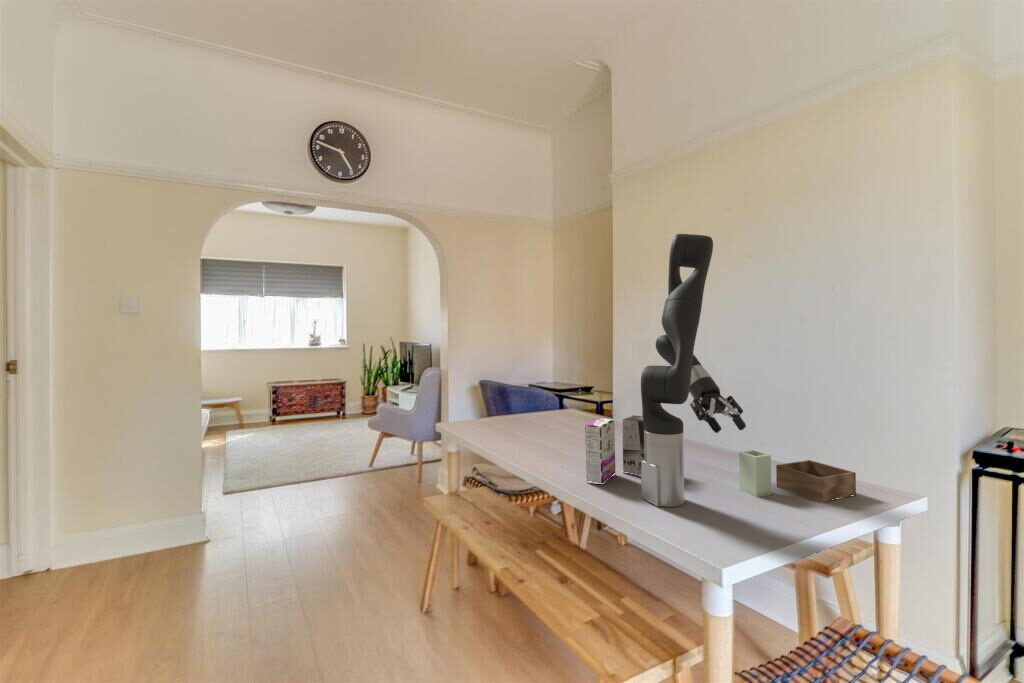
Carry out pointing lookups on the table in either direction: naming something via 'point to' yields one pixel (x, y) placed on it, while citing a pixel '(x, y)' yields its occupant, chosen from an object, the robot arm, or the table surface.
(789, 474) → the walnut crate
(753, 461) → the green square vase
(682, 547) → the table surface
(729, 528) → the table surface
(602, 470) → the candy bar box
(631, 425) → the coffee box
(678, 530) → the table surface
